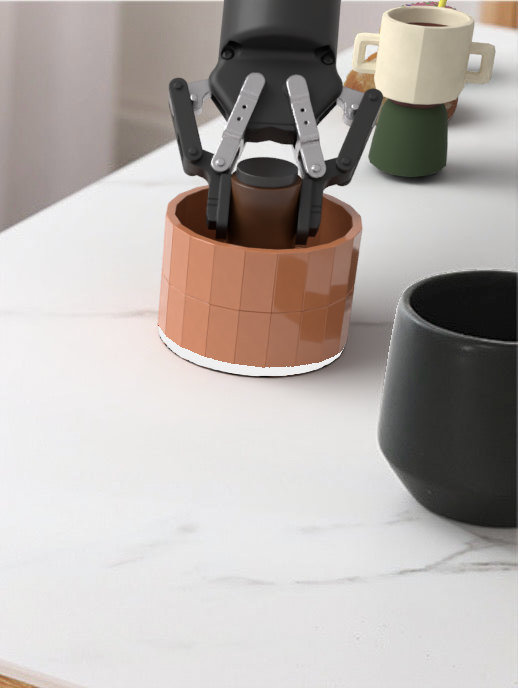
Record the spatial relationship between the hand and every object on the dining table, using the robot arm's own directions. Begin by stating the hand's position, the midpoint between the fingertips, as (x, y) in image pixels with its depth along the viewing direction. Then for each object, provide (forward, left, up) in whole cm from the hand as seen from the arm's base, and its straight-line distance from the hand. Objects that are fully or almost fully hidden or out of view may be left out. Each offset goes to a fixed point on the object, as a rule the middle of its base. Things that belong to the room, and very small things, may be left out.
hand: (261, 236), depth 98 cm
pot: (0, -2, -8) cm, 8 cm away
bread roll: (-12, -52, -8) cm, 54 cm away
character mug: (-12, -36, -8) cm, 39 cm away
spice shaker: (0, -2, -5) cm, 5 cm away
